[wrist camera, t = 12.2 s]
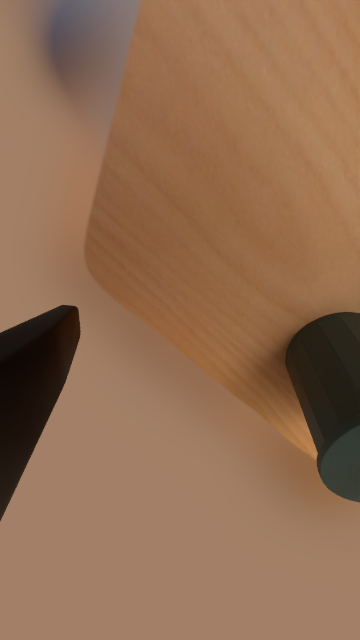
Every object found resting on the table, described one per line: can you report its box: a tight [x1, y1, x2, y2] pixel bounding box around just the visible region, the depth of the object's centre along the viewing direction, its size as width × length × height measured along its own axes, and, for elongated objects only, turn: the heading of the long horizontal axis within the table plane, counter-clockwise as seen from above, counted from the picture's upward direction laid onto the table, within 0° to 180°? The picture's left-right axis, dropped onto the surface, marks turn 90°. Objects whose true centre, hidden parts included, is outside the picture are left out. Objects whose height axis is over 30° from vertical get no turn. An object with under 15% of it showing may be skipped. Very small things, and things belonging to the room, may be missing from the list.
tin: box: [285, 312, 360, 452], centre depth 22 cm, size 8×8×9 cm
